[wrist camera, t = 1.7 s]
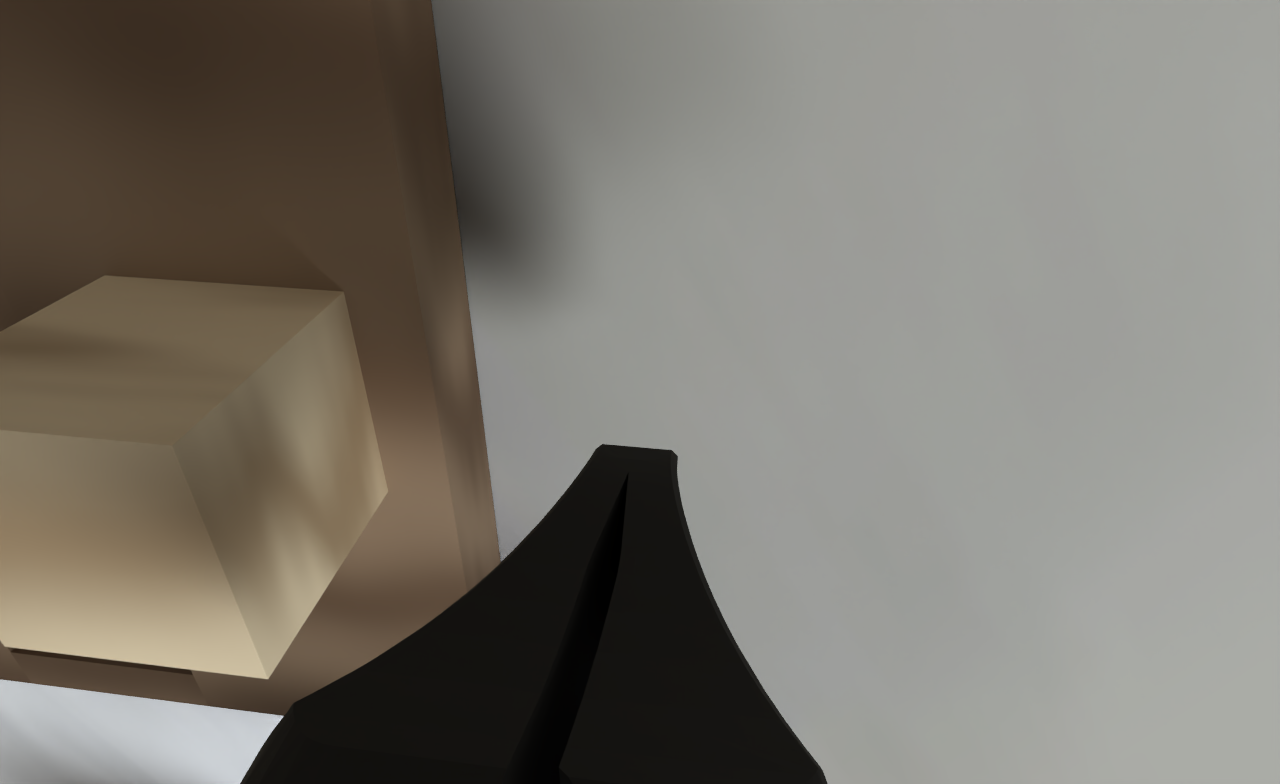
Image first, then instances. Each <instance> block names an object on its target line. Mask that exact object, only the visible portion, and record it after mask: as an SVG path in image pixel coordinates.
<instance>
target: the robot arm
mask: <svg viewBox="0 0 1280 784" xmlns="http://www.w3.org/2000/svg"><path fill="white" fill-rule="evenodd" d="M677 460H678V456H677V455H676V454H675V453H674V452H673V451H672V450H663V449H651V448H640V447H628V446H617V445H605V444H602V445H601V446H599V447H598V448H597V449H596V450H595V451H594V453H593V455H592V456H591V458H590V459H589V461H588V462H587V464H586V465H585V466H584V468H583V469H582V471H581V472H580V473H579V475H578V476H577V477H576V479H575V480H574V481H573V483H572V484H571V485H570V487H569V488H568V489H567V490H566V492H565V493H564V494H563V495H562V497H561V498H560V499H559V500H558V501H557V503H556V504H555V505H554V506H553V507H552V509H551V510H550V511H549V512H548V513H547V515H546V516H545V517H544V518H543V519H542V520H541V521H540V523H539V524H538V525H537V526H536V527H535V528H534V529H533V530H532V531H531V532H530V533H529V534H528V535H527V536H526V537H525V539H524V540H523V541H522V542H521V543H520V544H519V545H518V546H517V547H516V548H515V549H514V550H513V551H512V552H511V553H510V554H509V555H508V556H507V557H506V558H505V559H504V560H503V561H502V562H501V563H500V564H499V565H498V566H497V567H496V568H494V569H493V570H492V571H491V572H490V573H489V574H488V575H487V576H486V577H484V578H483V579H482V580H481V581H480V582H479V583H478V584H476V585H475V586H474V587H473V588H472V589H471V590H469V591H468V592H467V593H466V594H464V595H463V596H462V597H461V598H459V599H458V600H457V601H456V602H454V603H453V604H452V605H451V606H449V607H448V608H447V609H446V610H444V611H443V612H442V613H441V614H439V615H438V616H436V617H435V618H434V619H432V620H431V621H430V622H428V623H427V624H426V625H424V626H423V627H421V628H420V629H419V630H417V631H416V632H414V633H413V634H411V635H409V636H408V637H406V638H405V639H403V640H402V641H400V642H399V643H397V644H396V645H394V646H393V647H391V648H390V649H388V650H387V651H385V652H384V653H382V654H381V655H379V656H378V657H376V658H374V659H373V660H371V661H370V662H368V663H366V664H365V665H363V666H361V667H359V668H358V669H356V670H354V671H352V672H351V673H349V674H347V675H345V676H343V677H341V678H339V679H338V680H336V681H334V682H332V683H330V684H328V685H326V686H325V687H323V688H321V689H319V690H317V691H315V692H314V693H312V694H310V695H308V696H306V697H304V698H302V699H300V700H298V701H296V702H294V703H293V704H292V705H291V707H290V708H289V710H288V711H287V713H286V714H285V716H284V717H283V718H282V720H281V721H280V722H279V724H278V725H277V726H276V727H275V729H274V730H273V731H272V733H271V734H270V736H269V737H268V739H267V740H266V742H265V743H264V745H263V746H262V748H261V749H260V751H259V753H258V754H257V756H256V758H255V760H254V761H253V763H252V765H251V766H250V768H249V770H248V771H247V773H246V775H245V776H244V778H243V780H242V782H241V783H240V784H827V781H826V778H825V776H824V773H823V770H822V769H821V767H820V766H819V765H818V763H817V762H816V761H815V760H814V758H813V757H812V756H811V754H810V753H809V752H808V751H807V749H806V748H805V747H804V746H803V744H802V743H801V742H800V740H799V739H798V737H797V736H796V735H795V733H794V732H793V731H792V729H791V728H790V727H789V725H788V724H787V723H786V721H785V720H784V718H783V717H782V715H781V714H780V712H779V711H778V709H777V708H776V707H775V705H774V704H773V702H772V701H771V699H770V698H769V696H768V695H767V693H766V692H765V690H764V689H763V687H762V685H761V684H760V682H759V680H758V679H757V677H756V675H755V674H754V672H753V670H752V669H751V667H750V665H749V664H748V662H747V660H746V659H745V657H744V655H743V654H742V652H741V650H740V649H739V647H738V645H737V643H736V642H735V640H734V638H733V636H732V634H731V632H730V630H729V628H728V626H727V624H726V622H725V620H724V618H723V616H722V614H721V612H720V610H719V608H718V606H717V603H716V601H715V599H714V597H713V595H712V592H711V590H710V588H709V585H708V583H707V581H706V578H705V576H704V573H703V570H702V568H701V565H700V562H699V560H698V557H697V554H696V551H695V548H694V545H693V542H692V539H691V536H690V532H689V529H688V525H687V522H686V518H685V515H684V511H683V507H682V502H681V497H680V492H679V486H678V478H677Z"/></svg>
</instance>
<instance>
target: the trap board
mask: <svg viewBox="0 0 1280 784" xmlns="http://www.w3.org/2000/svg"><path fill="white" fill-rule="evenodd" d="M104 275H107V276H121V277H136V278H151V279H165V280H180V281H195V282H209V283H224V284H239V285H253V286H268V287H283V288H297V289H312V290H327V291H342V292H344V295H345V300H346V304H347V309H348V313H349V318H350V322H351V327H352V331H353V336H354V340H355V345H356V349H357V354H358V358H359V363H360V367H361V372H362V376H363V381H364V385H365V390H366V394H367V399H368V403H369V408H370V412H371V416H372V421H373V425H374V430H375V434H376V439H377V443H378V448H379V452H380V457H381V461H382V466H383V470H384V475H385V479H386V484H387V488H388V493H387V494H386V496H385V497H384V499H383V501H382V502H381V504H380V505H379V507H378V508H377V510H376V511H375V513H374V515H373V516H372V518H371V519H370V521H369V522H368V524H367V526H366V527H365V529H364V530H363V532H362V533H361V535H360V536H359V538H358V540H357V541H356V543H355V544H354V546H353V547H352V549H351V551H350V552H349V554H348V555H347V557H346V558H345V560H344V562H343V563H342V565H341V566H340V568H339V569H338V571H337V572H336V574H335V576H334V577H333V579H332V580H331V582H330V583H329V585H328V587H327V588H326V590H325V591H324V593H323V594H322V596H321V598H320V599H319V601H318V602H317V604H316V605H315V607H314V608H313V610H312V612H311V613H310V615H309V616H308V618H307V619H306V621H305V623H304V624H303V626H302V627H301V629H300V630H299V632H298V633H297V635H296V637H295V638H294V640H293V641H292V643H291V644H290V646H289V648H288V649H287V651H286V652H285V654H284V655H283V657H282V659H281V660H280V662H279V663H278V665H277V666H276V668H275V669H274V671H273V673H272V674H271V676H270V677H269V679H262V678H254V677H246V676H238V675H230V674H222V673H213V672H205V671H197V670H189V669H181V668H173V667H165V666H157V665H149V664H141V663H133V662H125V661H117V660H109V659H100V658H92V657H84V656H76V655H68V654H60V653H52V652H44V651H36V650H28V649H20V648H12V647H4V645H3V644H2V642H1V641H0V679H3V680H11V681H18V682H26V683H34V684H42V685H49V686H57V687H65V688H73V689H81V690H88V691H96V692H104V693H112V694H119V695H127V696H135V697H143V698H150V699H158V700H166V701H174V702H182V703H189V704H197V705H205V706H213V707H220V708H228V709H236V710H244V711H251V712H259V713H267V714H275V715H283V716H285V714H286V713H287V711H288V710H289V708H290V707H291V705H292V704H293V703H294V702H296V701H298V700H300V699H302V698H304V697H306V696H308V695H310V694H312V693H314V692H315V691H317V690H319V689H321V688H323V687H325V686H326V685H328V684H330V683H332V682H334V681H336V680H338V679H339V678H341V677H343V676H345V675H347V674H349V673H351V672H352V671H354V670H356V669H358V668H359V667H361V666H363V665H365V664H366V663H368V662H370V661H371V660H373V659H374V658H376V657H378V656H379V655H381V654H382V653H384V652H385V651H387V650H388V649H390V648H391V647H393V646H394V645H396V644H397V643H399V642H400V641H402V640H403V639H405V638H406V637H408V636H409V635H411V634H413V633H414V632H416V631H417V630H419V629H420V628H421V627H423V626H424V625H426V624H427V623H428V622H430V621H431V620H432V619H434V618H435V617H436V616H438V615H439V614H441V613H442V612H443V611H444V610H446V609H447V608H448V607H449V606H451V605H452V604H453V603H454V602H456V601H457V600H458V599H459V598H461V597H462V596H463V595H464V594H466V593H467V592H468V591H469V590H471V589H472V588H473V587H474V586H475V585H476V584H478V583H479V582H480V581H481V580H482V579H483V578H484V577H486V576H487V575H488V574H489V573H490V572H491V571H492V570H493V569H494V568H496V567H497V566H498V565H499V564H500V563H501V561H500V553H499V545H498V537H497V529H496V521H495V513H494V505H493V497H492V489H491V481H490V472H489V464H488V456H487V448H486V440H485V432H484V424H483V416H482V408H481V400H480V392H479V384H478V376H477V367H476V359H475V351H474V343H473V335H472V327H471V319H470V311H469V303H468V295H467V287H466V279H465V270H464V262H463V254H462V246H461V238H460V230H459V222H458V214H457V206H456V198H455V190H454V182H453V174H452V165H451V157H450V149H449V141H448V133H447V125H446V117H445V109H444V101H443V93H442V85H441V77H440V68H439V60H438V52H437V44H436V36H435V28H434V20H433V12H432V4H431V0H0V332H1V331H3V330H4V329H6V328H8V327H10V326H12V325H14V324H16V323H17V322H19V321H21V320H23V319H25V318H27V317H29V316H30V315H32V314H34V313H36V312H38V311H40V310H41V309H43V308H45V307H47V306H49V305H51V304H53V303H54V302H56V301H58V300H60V299H62V298H64V297H66V296H67V295H69V294H71V293H73V292H75V291H77V290H79V289H80V288H82V287H84V286H86V285H88V284H90V283H91V282H93V281H95V280H97V279H99V278H101V277H103V276H104Z"/></svg>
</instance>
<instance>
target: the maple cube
mask: <svg viewBox="0 0 1280 784" xmlns="http://www.w3.org/2000/svg"><path fill="white" fill-rule="evenodd" d="M387 493H388V488H387V484H386V479H385V475H384V470H383V466H382V461H381V457H380V452H379V448H378V443H377V439H376V434H375V430H374V425H373V421H372V416H371V412H370V408H369V403H368V399H367V394H366V390H365V385H364V381H363V376H362V372H361V367H360V363H359V358H358V354H357V349H356V345H355V340H354V336H353V331H352V327H351V322H350V318H349V313H348V309H347V304H346V300H345V295H344V292H342V291H327V290H312V289H297V288H283V287H268V286H253V285H239V284H224V283H209V282H195V281H180V280H165V279H151V278H136V277H121V276H107V275H104V276H103V277H101V278H99V279H97V280H95V281H93V282H91V283H90V284H88V285H86V286H84V287H82V288H80V289H79V290H77V291H75V292H73V293H71V294H69V295H67V296H66V297H64V298H62V299H60V300H58V301H56V302H54V303H53V304H51V305H49V306H47V307H45V308H43V309H41V310H40V311H38V312H36V313H34V314H32V315H30V316H29V317H27V318H25V319H23V320H21V321H19V322H17V323H16V324H14V325H12V326H10V327H8V328H6V329H4V330H3V331H1V332H0V641H1V642H2V644H3V645H4V647H12V648H20V649H28V650H36V651H44V652H52V653H60V654H68V655H76V656H84V657H92V658H100V659H109V660H117V661H125V662H133V663H141V664H149V665H157V666H165V667H173V668H181V669H189V670H197V671H205V672H213V673H222V674H230V675H238V676H246V677H254V678H262V679H269V677H270V676H271V674H272V673H273V671H274V669H275V668H276V666H277V665H278V663H279V662H280V660H281V659H282V657H283V655H284V654H285V652H286V651H287V649H288V648H289V646H290V644H291V643H292V641H293V640H294V638H295V637H296V635H297V633H298V632H299V630H300V629H301V627H302V626H303V624H304V623H305V621H306V619H307V618H308V616H309V615H310V613H311V612H312V610H313V608H314V607H315V605H316V604H317V602H318V601H319V599H320V598H321V596H322V594H323V593H324V591H325V590H326V588H327V587H328V585H329V583H330V582H331V580H332V579H333V577H334V576H335V574H336V572H337V571H338V569H339V568H340V566H341V565H342V563H343V562H344V560H345V558H346V557H347V555H348V554H349V552H350V551H351V549H352V547H353V546H354V544H355V543H356V541H357V540H358V538H359V536H360V535H361V533H362V532H363V530H364V529H365V527H366V526H367V524H368V522H369V521H370V519H371V518H372V516H373V515H374V513H375V511H376V510H377V508H378V507H379V505H380V504H381V502H382V501H383V499H384V497H385V496H386V494H387Z"/></svg>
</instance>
